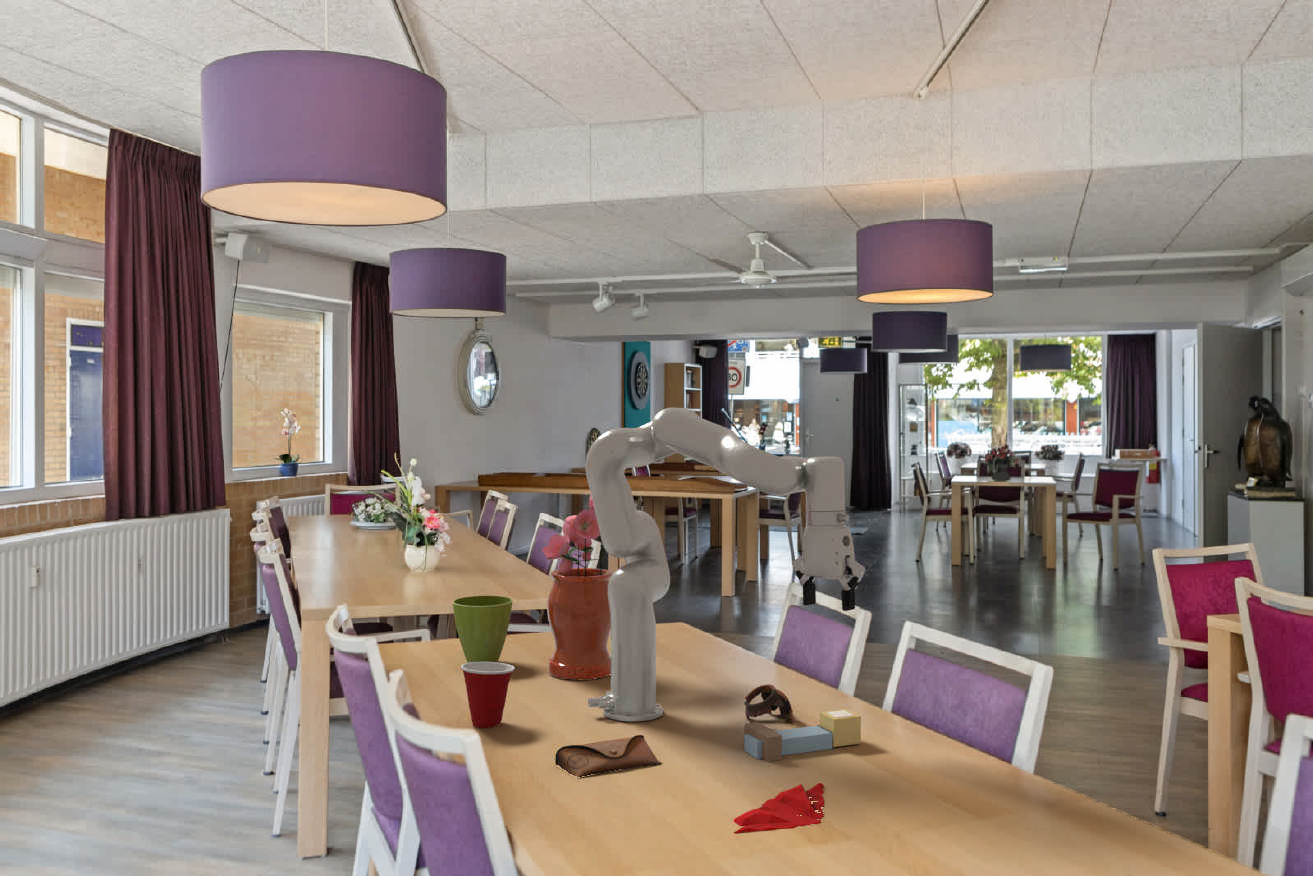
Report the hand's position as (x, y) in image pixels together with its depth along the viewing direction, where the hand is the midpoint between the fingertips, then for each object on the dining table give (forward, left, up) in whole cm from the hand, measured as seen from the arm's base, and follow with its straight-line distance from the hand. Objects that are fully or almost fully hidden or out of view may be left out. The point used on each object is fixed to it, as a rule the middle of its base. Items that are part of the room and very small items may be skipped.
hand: (828, 607), depth 196 cm
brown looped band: (-5, +15, -26) cm, 30 cm away
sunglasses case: (-45, 0, -26) cm, 52 cm away
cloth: (-26, -30, -26) cm, 48 cm away
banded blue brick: (-11, -4, -25) cm, 28 cm away
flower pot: (-50, +82, -26) cm, 99 cm away
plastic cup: (-60, +32, -26) cm, 73 cm away
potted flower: (-28, +64, -26) cm, 74 cm away
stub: (0, -4, -25) cm, 26 cm away
